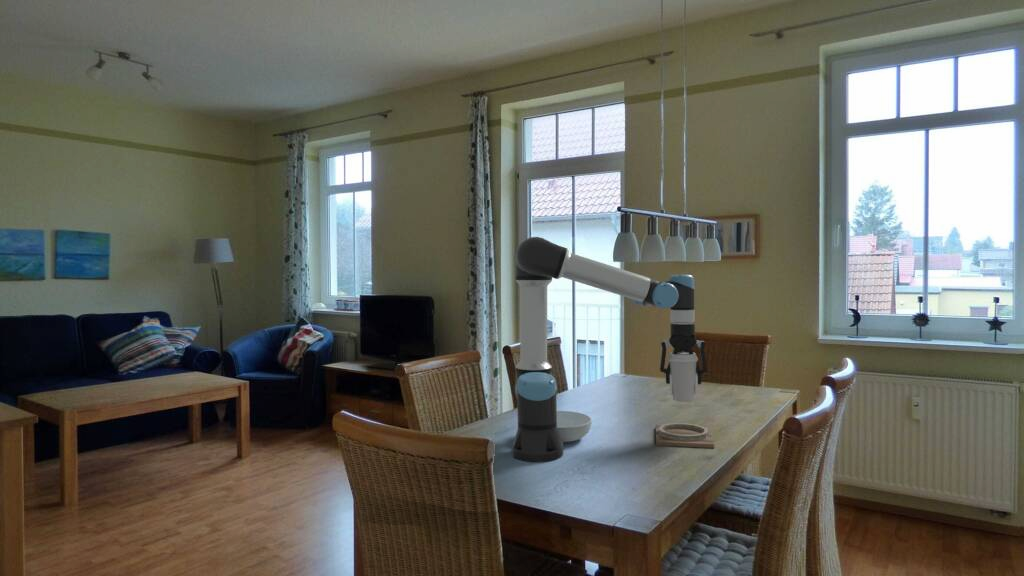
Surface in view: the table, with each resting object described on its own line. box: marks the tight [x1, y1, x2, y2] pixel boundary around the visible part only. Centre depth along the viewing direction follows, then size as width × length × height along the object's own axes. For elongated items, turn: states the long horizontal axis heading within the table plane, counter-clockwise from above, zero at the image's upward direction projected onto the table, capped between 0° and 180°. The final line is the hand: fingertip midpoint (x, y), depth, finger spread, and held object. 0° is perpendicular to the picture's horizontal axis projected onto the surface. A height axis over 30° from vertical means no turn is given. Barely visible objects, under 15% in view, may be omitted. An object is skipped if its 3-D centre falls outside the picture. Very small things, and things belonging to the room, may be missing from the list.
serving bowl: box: [557, 410, 592, 443], centre depth 195 cm, size 21×21×7 cm
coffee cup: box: [667, 351, 699, 403], centre depth 194 cm, size 10×10×15 cm
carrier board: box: [655, 422, 715, 449], centre depth 195 cm, size 20×17×3 cm
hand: (683, 394), depth 194 cm, fingers closed on coffee cup, 7 cm apart
